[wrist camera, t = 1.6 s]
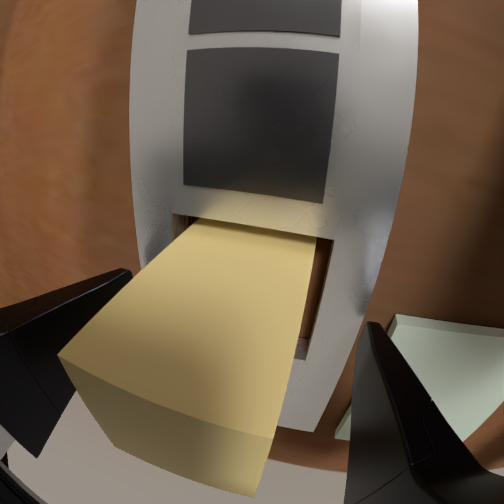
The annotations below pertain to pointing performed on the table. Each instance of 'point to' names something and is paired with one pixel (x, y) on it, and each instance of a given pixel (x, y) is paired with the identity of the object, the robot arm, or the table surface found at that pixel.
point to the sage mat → (450, 369)
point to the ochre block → (199, 352)
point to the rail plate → (278, 143)
